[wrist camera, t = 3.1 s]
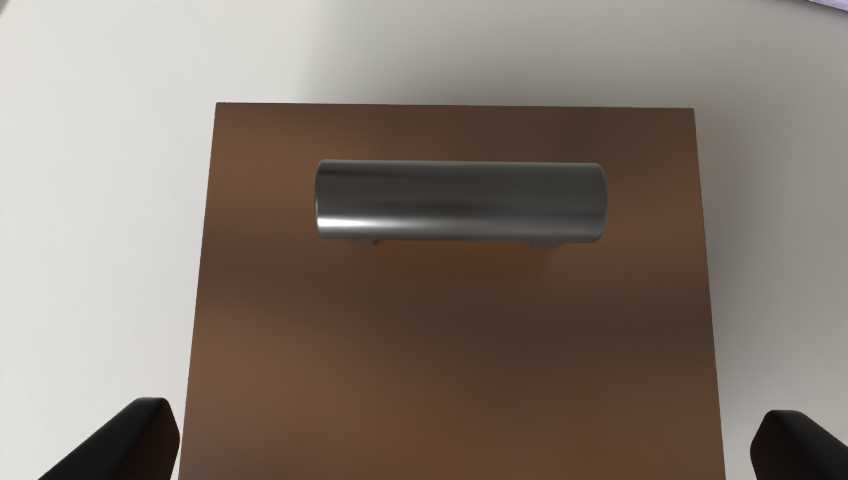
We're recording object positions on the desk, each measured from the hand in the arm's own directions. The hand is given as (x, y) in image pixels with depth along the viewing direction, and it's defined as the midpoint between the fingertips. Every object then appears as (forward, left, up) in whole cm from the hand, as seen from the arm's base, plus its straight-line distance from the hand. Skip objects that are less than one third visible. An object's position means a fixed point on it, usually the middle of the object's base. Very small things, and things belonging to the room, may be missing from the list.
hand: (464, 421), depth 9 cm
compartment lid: (+2, +2, -6) cm, 6 cm away
